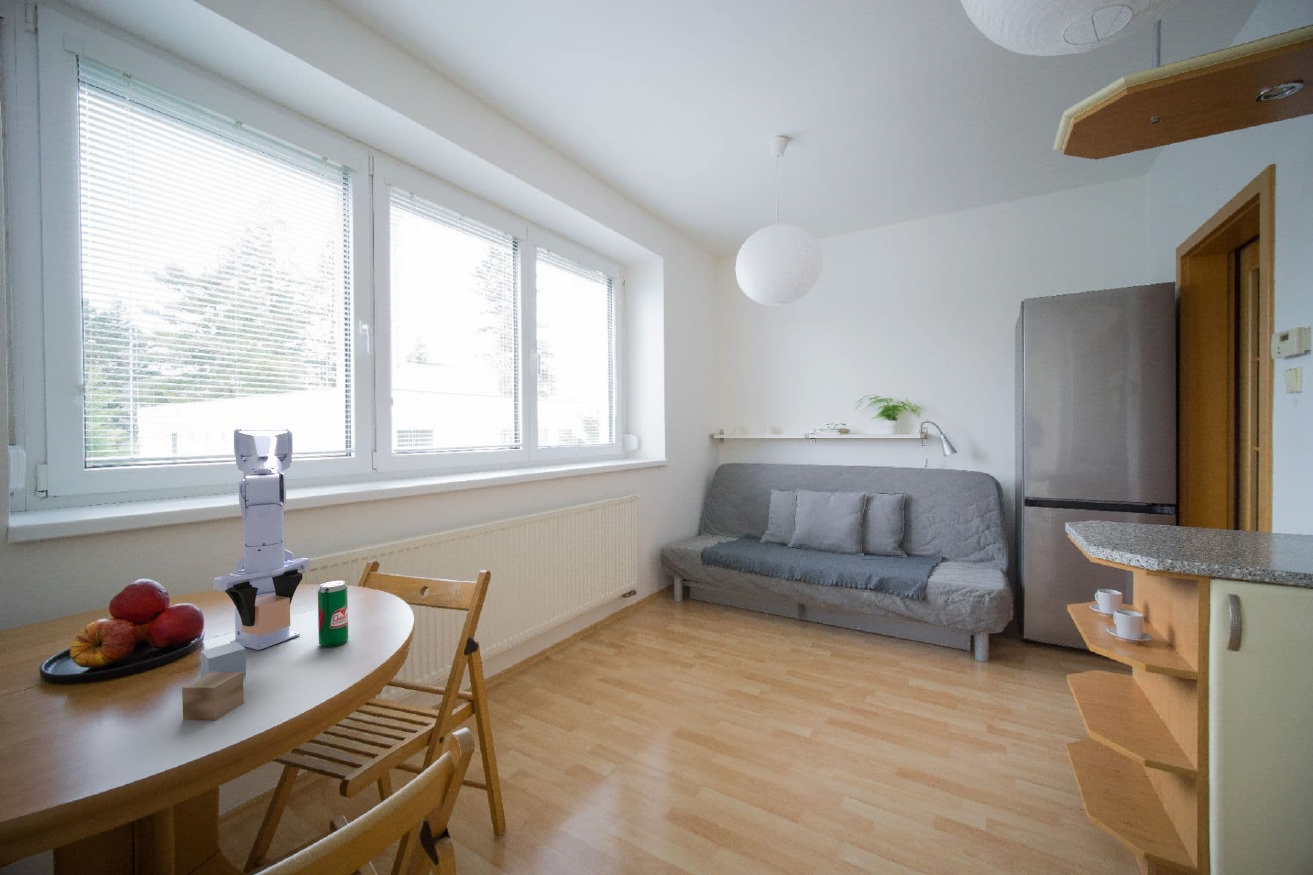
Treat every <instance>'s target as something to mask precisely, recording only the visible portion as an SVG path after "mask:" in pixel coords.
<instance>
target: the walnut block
mask: <svg viewBox="0 0 1313 875" xmlns="http://www.w3.org/2000/svg"><path fill="white" fill-rule="evenodd" d="M181 690H182V691H181V692H182V694H181V696H182V698H181V699H182V700H181V701H182V720H183V721H200V722H201V721H202V722H203V721H205V722H207V721H209V722H210V721H211V722H216V721H217V720H219V719H221V718H222V717H224V716H226V715H227V714H229V713H230V712H231V711H233V710H235V709H237V708H238V707H240V706H242V705H243V704H244V703H245V701H244V700H245V695H244V693H245V692H244V677H243V672H211V673H209V674H207V675H205V676H203V677H200V678H199V677H198V678H197V679H196V680H194V681H192V682H190V683H188V684H186V685H185V686H182V687H181Z"/></svg>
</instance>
